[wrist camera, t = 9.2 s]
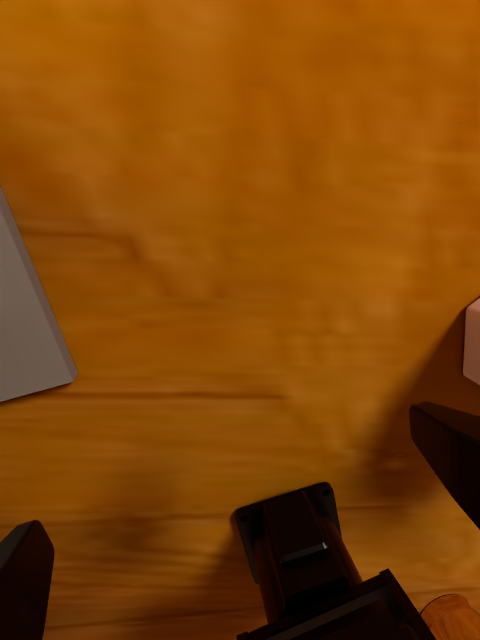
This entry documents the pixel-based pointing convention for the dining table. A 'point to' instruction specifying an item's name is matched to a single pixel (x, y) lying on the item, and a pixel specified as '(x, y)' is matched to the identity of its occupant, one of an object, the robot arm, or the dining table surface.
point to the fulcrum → (26, 322)
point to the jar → (472, 343)
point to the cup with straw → (452, 618)
